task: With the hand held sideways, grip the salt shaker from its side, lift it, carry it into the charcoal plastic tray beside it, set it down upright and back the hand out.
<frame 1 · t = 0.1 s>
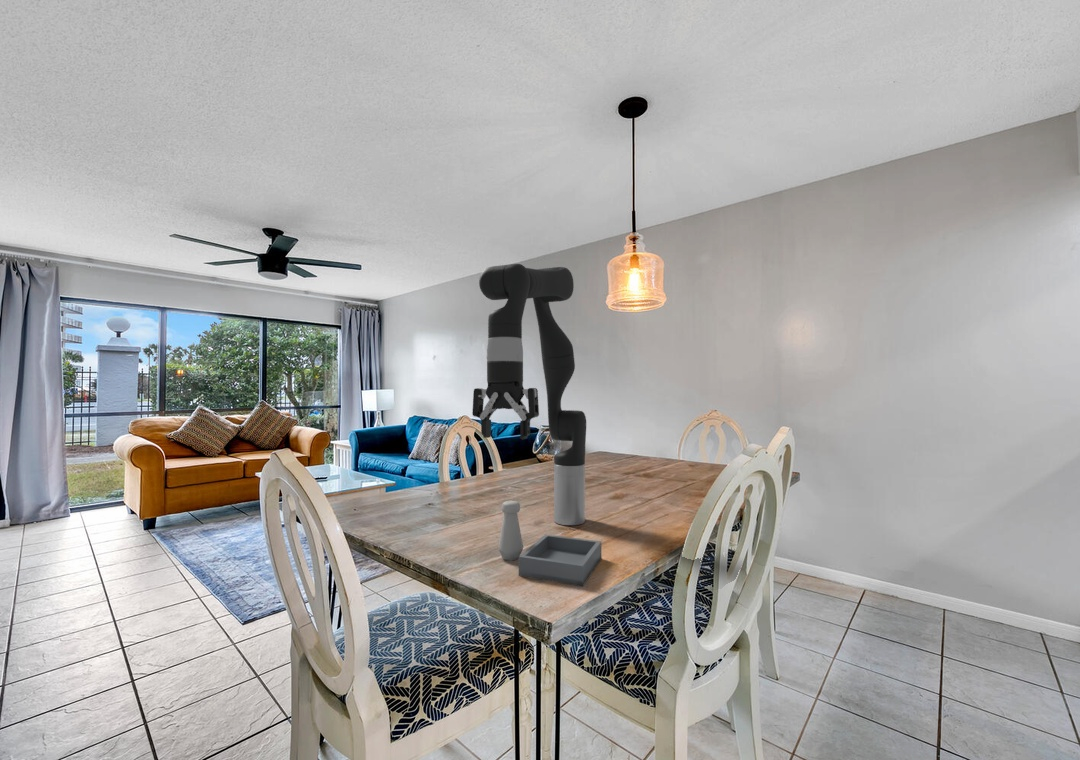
hand: (505, 438, 93), 29 cm above the table, tool pointing down, fingers open, 8 cm apart
salt shaker: (510, 558, 105), on the table
tray: (562, 566, 100), on the table
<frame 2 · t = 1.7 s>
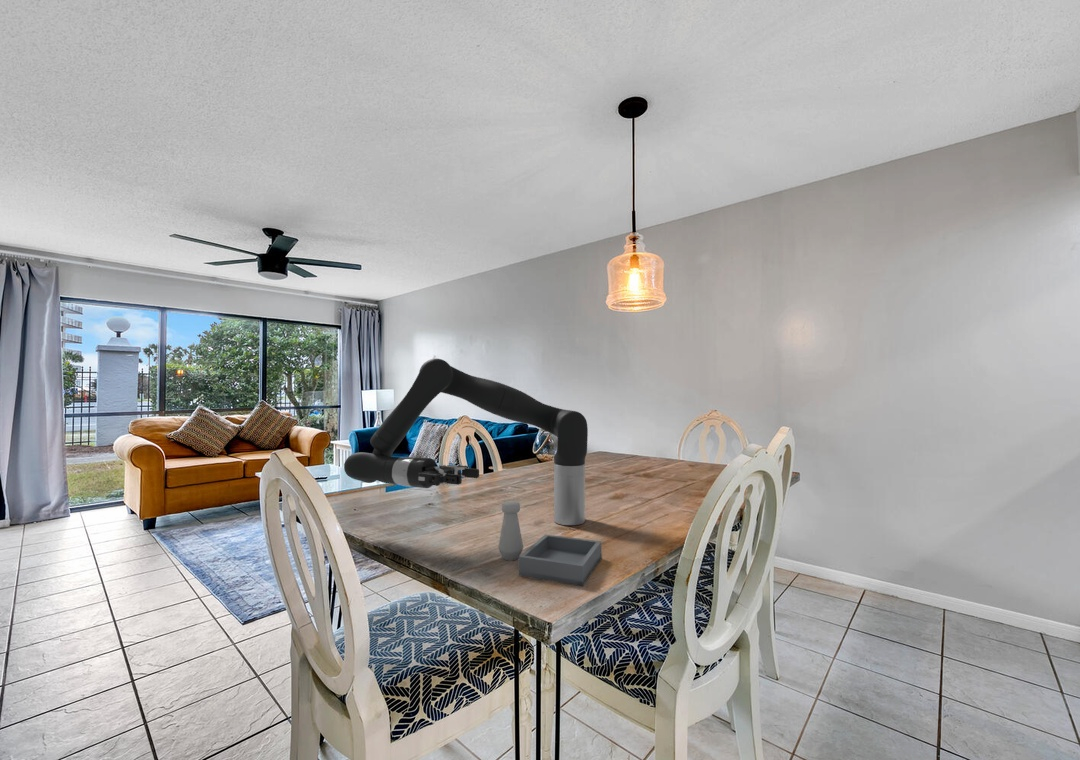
hand: (470, 476, 110), 18 cm above the table, tool horizontal, fingers open, 8 cm apart
nothing on the table moved.
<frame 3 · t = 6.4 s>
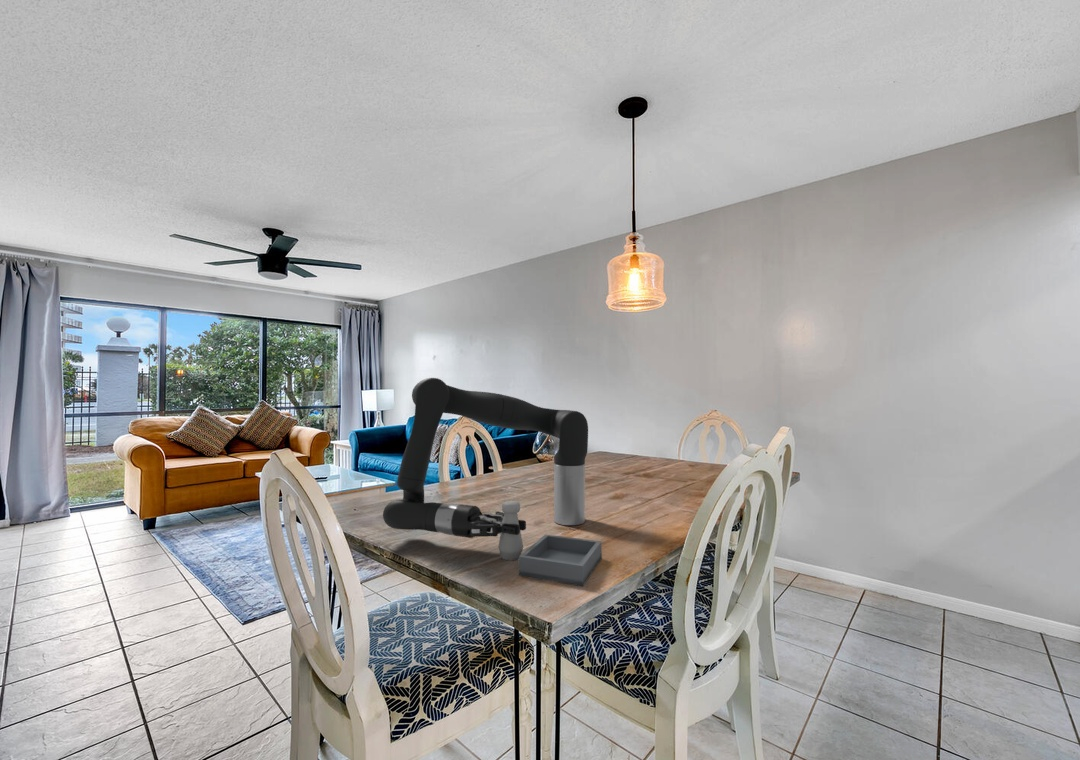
hand: (522, 527, 104), 7 cm above the table, tool horizontal, fingers closed on salt shaker, 3 cm apart
salt shaker: (510, 558, 105), on the table, touching gripper
when the fingers open (9 cm above the table, at t = 10.9 s): salt shaker drops 1 cm, resting on tray.
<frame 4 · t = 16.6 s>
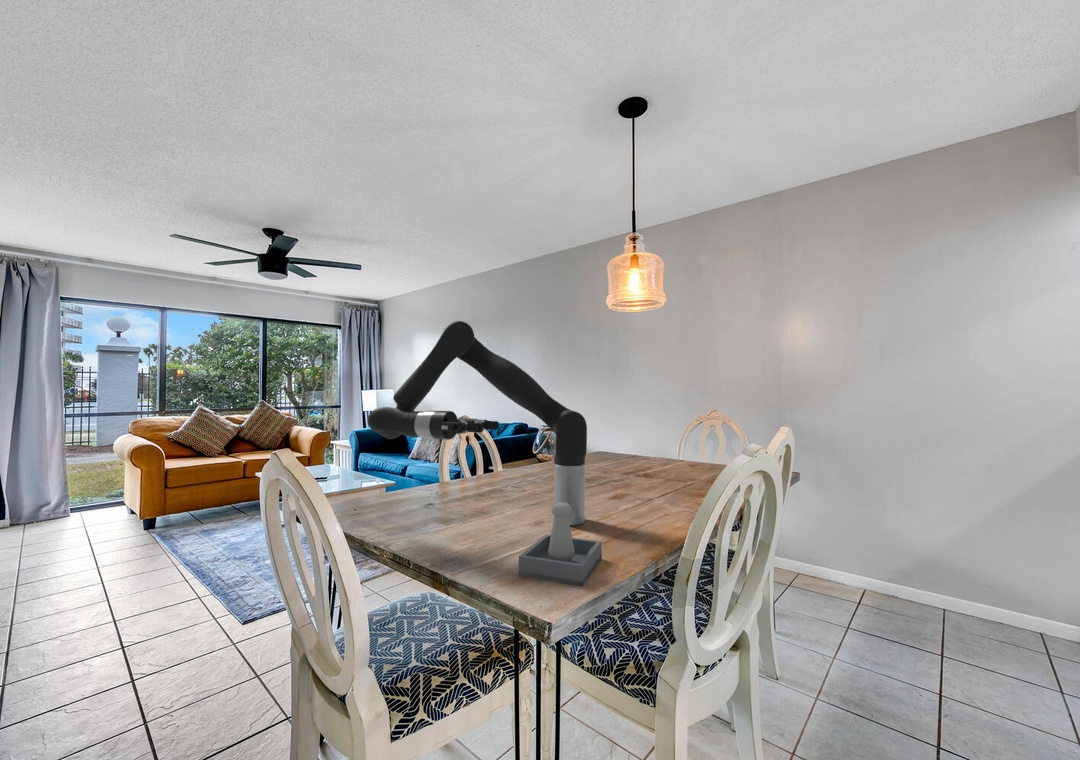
hand: (490, 426, 114), 30 cm above the table, tool horizontal, fingers open, 8 cm apart
salt shaker: (561, 563, 100), point 1 cm above the table, touching tray
at the end: salt shaker inside the target area on the tray (0.2 cm from its centre), point 0.8 cm above the tray's base; salt shaker tilted 0°; the gripper is holding nothing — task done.
